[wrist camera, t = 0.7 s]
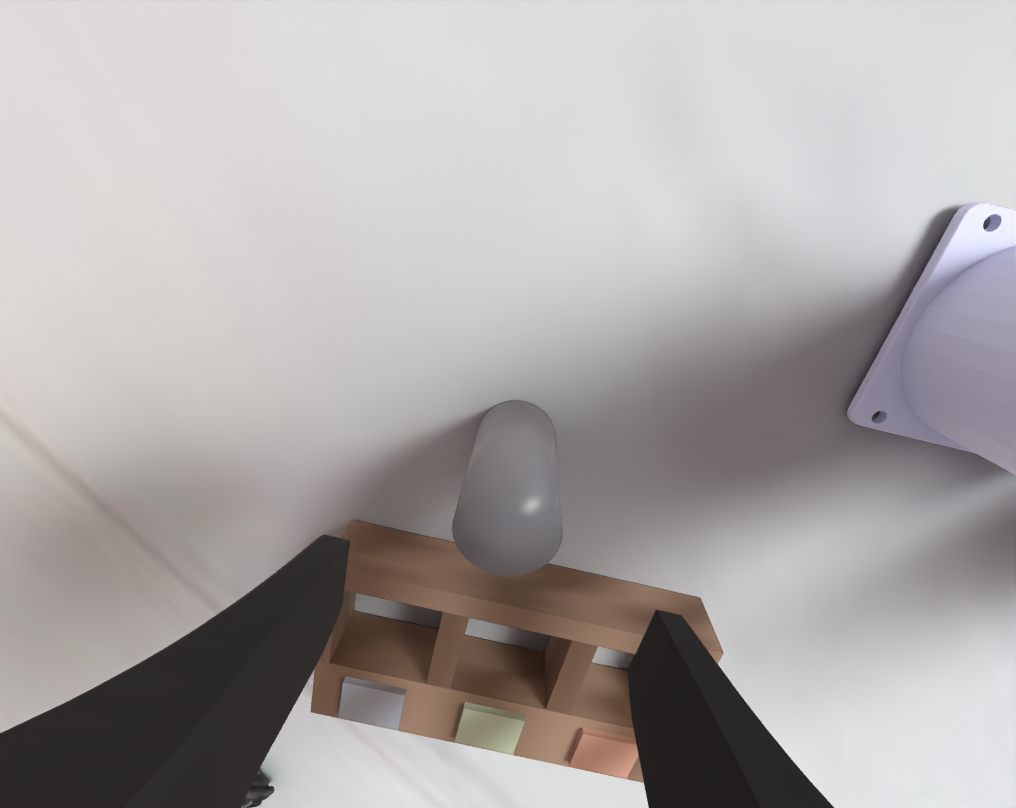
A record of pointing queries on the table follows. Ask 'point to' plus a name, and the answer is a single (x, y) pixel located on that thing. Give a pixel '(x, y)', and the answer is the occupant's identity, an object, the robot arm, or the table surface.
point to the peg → (510, 493)
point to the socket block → (492, 653)
